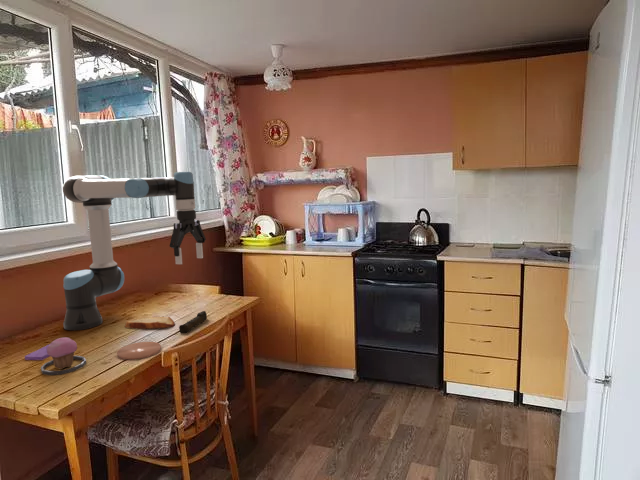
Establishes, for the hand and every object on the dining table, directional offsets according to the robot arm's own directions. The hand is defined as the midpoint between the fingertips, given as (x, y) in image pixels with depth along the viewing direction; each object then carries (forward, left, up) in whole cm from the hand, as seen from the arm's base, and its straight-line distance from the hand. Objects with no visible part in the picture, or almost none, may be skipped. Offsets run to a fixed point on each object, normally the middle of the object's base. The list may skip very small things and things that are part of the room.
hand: (189, 261), depth 192 cm
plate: (-1, -30, -28) cm, 41 cm away
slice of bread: (-19, -5, -29) cm, 35 cm away
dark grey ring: (-16, -49, -28) cm, 59 cm away
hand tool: (0, 0, -28) cm, 28 cm away
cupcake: (-16, -49, -28) cm, 59 cm away
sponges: (-34, -42, -29) cm, 62 cm away
